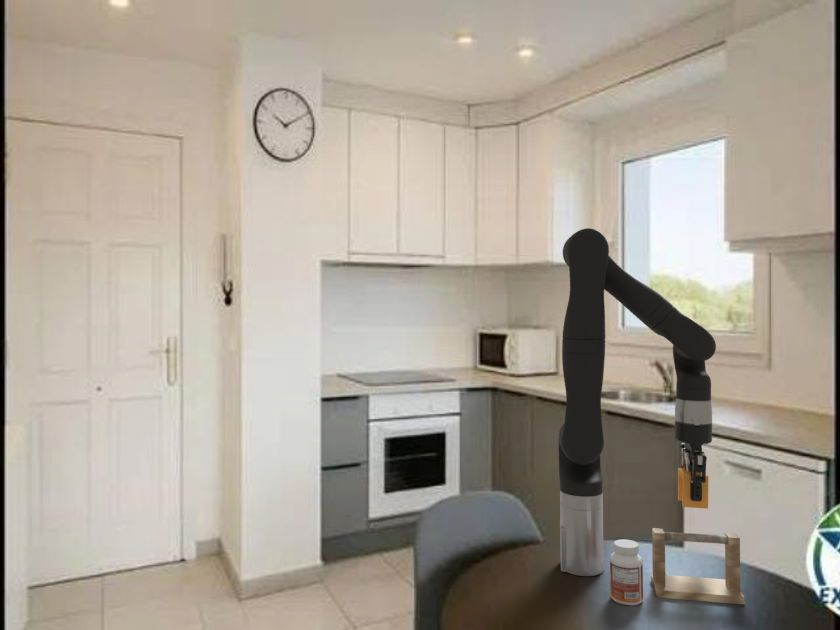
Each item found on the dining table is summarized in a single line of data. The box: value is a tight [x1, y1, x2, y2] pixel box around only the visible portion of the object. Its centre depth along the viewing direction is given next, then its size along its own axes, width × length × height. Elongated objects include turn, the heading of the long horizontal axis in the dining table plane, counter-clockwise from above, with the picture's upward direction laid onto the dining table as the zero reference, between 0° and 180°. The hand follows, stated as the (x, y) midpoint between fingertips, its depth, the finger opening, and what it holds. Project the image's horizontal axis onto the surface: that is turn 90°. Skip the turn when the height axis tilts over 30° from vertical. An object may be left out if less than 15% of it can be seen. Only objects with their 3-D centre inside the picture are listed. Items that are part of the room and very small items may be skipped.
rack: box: [650, 527, 745, 605], centre depth 126 cm, size 16×8×12 cm, turn 78°
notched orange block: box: [677, 467, 709, 509], centre depth 137 cm, size 5×6×7 cm
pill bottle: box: [609, 539, 644, 606], centre depth 123 cm, size 6×6×11 cm
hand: (692, 496), depth 137 cm, fingers closed on notched orange block, 6 cm apart
